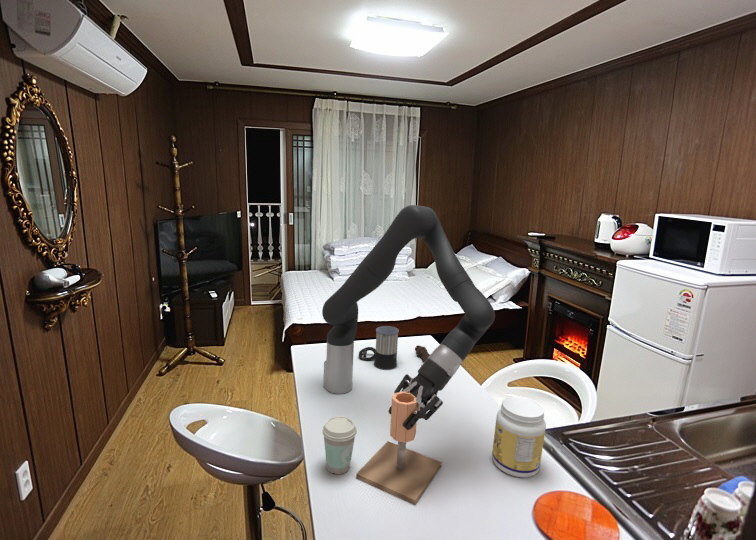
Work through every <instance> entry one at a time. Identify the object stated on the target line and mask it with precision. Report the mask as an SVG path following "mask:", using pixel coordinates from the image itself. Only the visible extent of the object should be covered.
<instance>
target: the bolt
mask: <svg viewBox="0 0 756 540" xmlns="http://www.w3.org/2000/svg"><path fill="white" fill-rule="evenodd" d="M414 351H415V353H416V355H417V357H418V356H419V357H422V358H421V359H422V362H423V363H424V362H425V361H426V360H427V358H428V357H429V356H430V355H431V353H429V352H428V349H427V348H426V346H422V345H416V346H415V347H414ZM419 357H418V358H419Z"/></svg>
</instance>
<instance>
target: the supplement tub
mask: <svg viewBox="0 0 756 540" xmlns="http://www.w3.org/2000/svg"><path fill="white" fill-rule="evenodd" d="M544 414H545V410H544V407H543V406H542V405H541V404H540V403H539V402H538V401H536V400H534V399H531V398H529V397H525V396H520V395H512V396H506V397H504V398H503V399H502V401H501V405H500V408H499V410H498V411H497V413H496V418H495V426H494V427H495V428H494V436H493V442H492V444H493V445H492V452H491V457H492V461H493V463H494V464H495V466H496V467H497V468H498V469H499V470H501V471H502V472H504V473H506V474H508V475H509V476H512V477H517V478H518V477H519V478H529V477H532V476H535V475H536V474H537V473H538V472H539V470H540V467H541V461H542V455H543V448H544V442H545V433H546V430H547V429H546V428H547V422H546V420H545V415H544Z"/></svg>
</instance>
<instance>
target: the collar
mask: <svg viewBox="0 0 756 540" xmlns="http://www.w3.org/2000/svg"><path fill="white" fill-rule="evenodd" d="M401 391H402V390H401ZM401 391H400V392H398V393H395V394H394V393H393V396H392V397H391V405H392V409H391V414H390V429H389V436H390V437H391V438H392V439H393V440H394V441H396V442H398V441H399V442H404V443H405V442H406V443H409V442H412V441H414V440H415V438H416V435H417V425H418V424H417V422H418V421H417V422H416V424H415V425H414V426H413V427H412V428H411V429H410V430H407V429H406V428H404V427H403V423H404V422H405V420H406V419H407V418H408V417H409V416H410V414H411V413H413V411H414V409H415V407H416V405H417V401H416V397H415V396H414V395H412V394H411V393H410V392H409V393H406V392H404V391H402V392H401Z"/></svg>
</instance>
